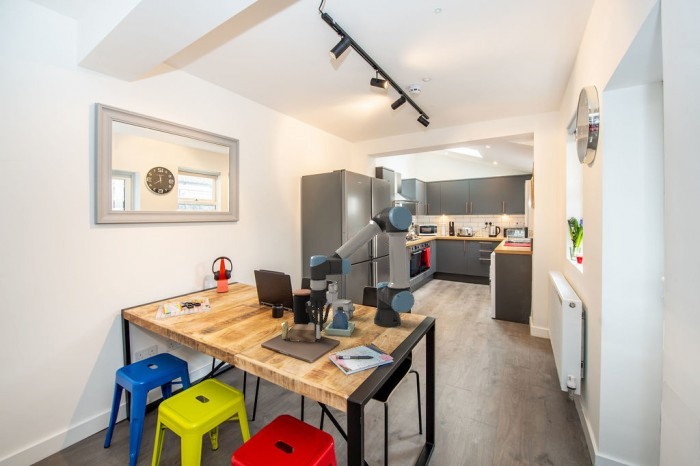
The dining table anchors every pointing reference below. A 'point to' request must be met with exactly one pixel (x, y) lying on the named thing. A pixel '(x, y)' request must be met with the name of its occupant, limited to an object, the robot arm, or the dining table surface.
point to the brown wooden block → (303, 332)
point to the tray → (338, 332)
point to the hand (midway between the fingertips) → (318, 337)
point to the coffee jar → (301, 306)
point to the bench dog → (285, 330)
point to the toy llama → (339, 301)
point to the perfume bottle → (340, 320)
